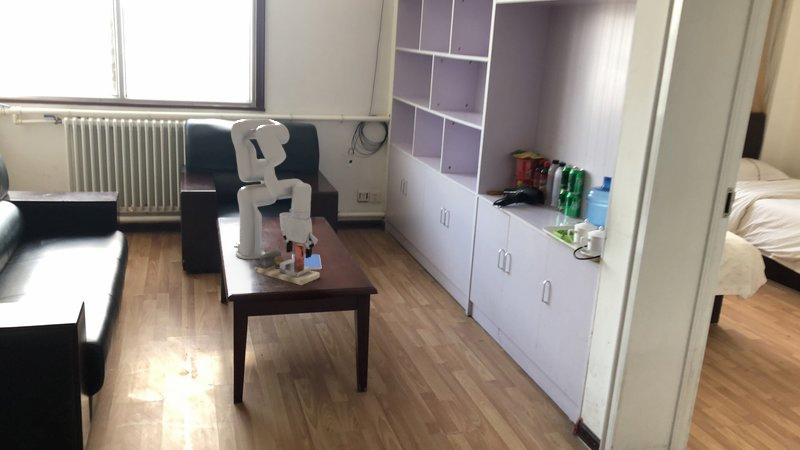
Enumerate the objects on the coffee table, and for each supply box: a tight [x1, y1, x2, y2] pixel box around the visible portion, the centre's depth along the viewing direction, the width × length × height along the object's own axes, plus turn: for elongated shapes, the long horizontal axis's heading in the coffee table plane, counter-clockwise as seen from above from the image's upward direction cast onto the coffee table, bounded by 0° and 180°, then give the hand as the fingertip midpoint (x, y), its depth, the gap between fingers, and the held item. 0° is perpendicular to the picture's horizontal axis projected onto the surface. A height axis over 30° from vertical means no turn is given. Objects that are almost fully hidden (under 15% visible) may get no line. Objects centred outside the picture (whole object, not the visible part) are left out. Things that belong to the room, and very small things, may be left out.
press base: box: [256, 250, 321, 286], centre depth 280 cm, size 23×12×7 cm, turn 60°
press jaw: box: [279, 243, 312, 277], centre depth 277 cm, size 9×9×12 cm
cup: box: [279, 212, 291, 232], centre depth 336 cm, size 8×8×10 cm
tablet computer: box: [291, 253, 323, 271], centre depth 298 cm, size 19×13×1 cm, turn 9°
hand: (298, 254), depth 276 cm, fingers open, 9 cm apart
